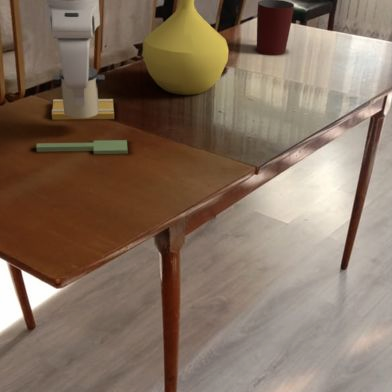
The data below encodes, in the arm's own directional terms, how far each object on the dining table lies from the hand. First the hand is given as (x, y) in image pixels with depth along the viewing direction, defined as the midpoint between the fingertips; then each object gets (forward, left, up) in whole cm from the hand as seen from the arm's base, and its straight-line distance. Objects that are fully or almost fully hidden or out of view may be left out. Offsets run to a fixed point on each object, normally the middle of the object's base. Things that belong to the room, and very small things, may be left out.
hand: (80, 97), depth 114 cm
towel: (0, +10, -6) cm, 12 cm away
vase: (+22, +24, -7) cm, 33 cm away
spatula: (0, -8, -6) cm, 10 cm away
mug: (+48, +52, -7) cm, 71 cm away
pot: (0, 0, -3) cm, 3 cm away
